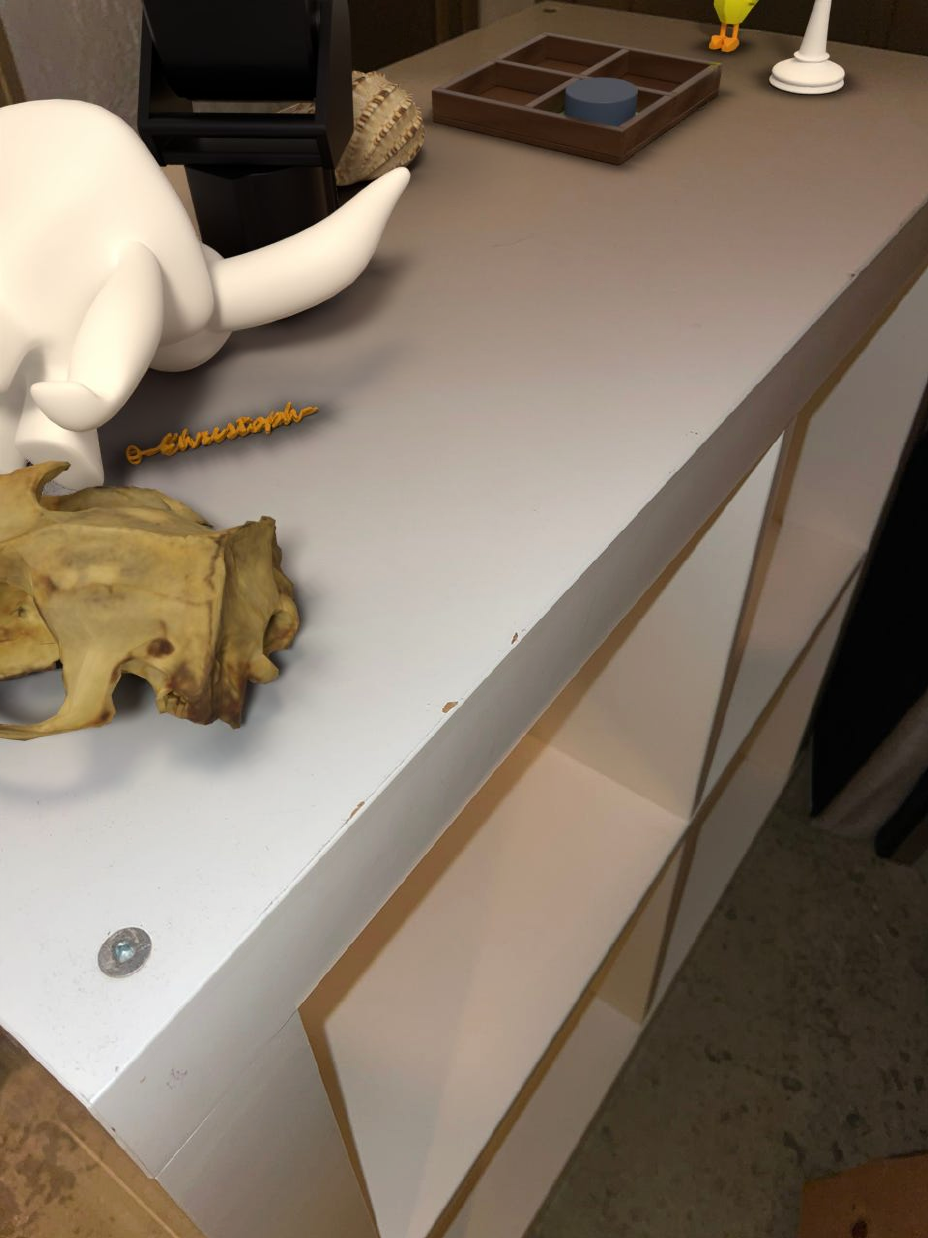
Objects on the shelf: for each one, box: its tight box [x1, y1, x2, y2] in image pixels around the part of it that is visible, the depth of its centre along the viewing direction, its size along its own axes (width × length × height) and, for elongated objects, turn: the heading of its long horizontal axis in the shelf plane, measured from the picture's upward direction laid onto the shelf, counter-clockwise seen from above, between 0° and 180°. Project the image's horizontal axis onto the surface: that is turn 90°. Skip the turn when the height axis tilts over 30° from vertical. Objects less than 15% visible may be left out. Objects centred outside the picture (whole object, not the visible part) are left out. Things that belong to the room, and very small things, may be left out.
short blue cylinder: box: [564, 78, 638, 127], centre depth 59 cm, size 4×4×2 cm
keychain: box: [125, 401, 318, 466], centre depth 39 cm, size 8×1×1 cm, turn 112°
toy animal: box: [0, 98, 411, 492], centre depth 37 cm, size 20×12×17 cm
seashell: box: [293, 70, 426, 187], centre depth 55 cm, size 8×6×10 cm
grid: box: [431, 31, 724, 166], centre depth 63 cm, size 14×14×2 cm
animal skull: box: [0, 461, 300, 742], centre depth 29 cm, size 10×16×7 cm
